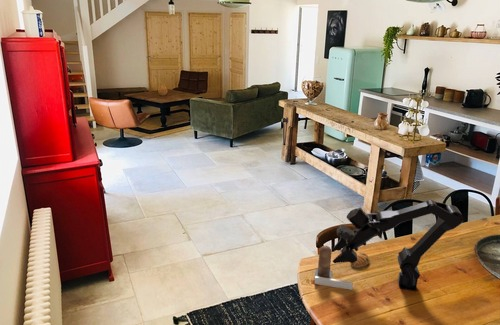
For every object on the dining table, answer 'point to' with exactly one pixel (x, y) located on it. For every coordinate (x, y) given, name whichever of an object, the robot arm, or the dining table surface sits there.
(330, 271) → the resting pad
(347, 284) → the silver flat bar
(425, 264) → the dining table surface
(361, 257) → the pastry
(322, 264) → the skittle
